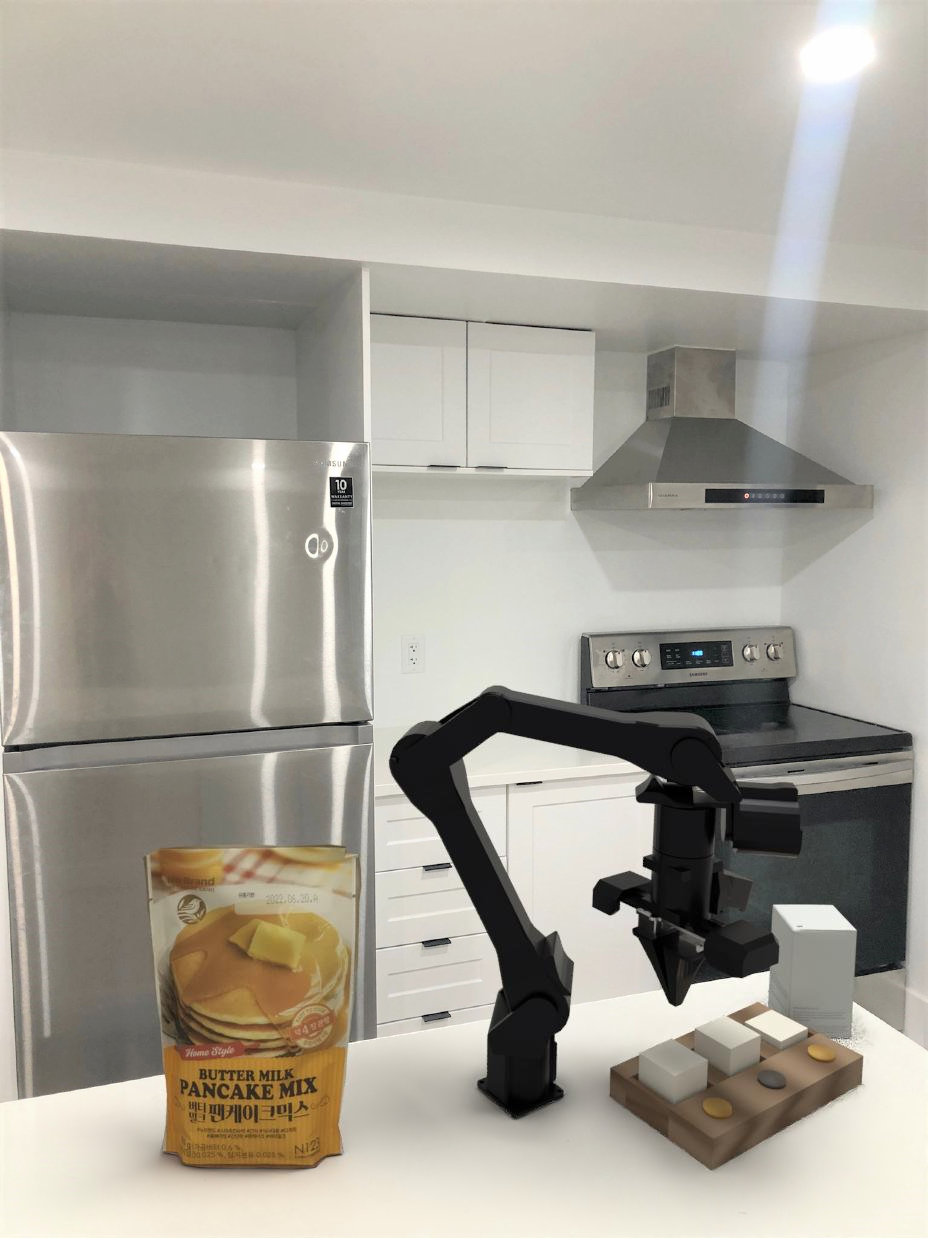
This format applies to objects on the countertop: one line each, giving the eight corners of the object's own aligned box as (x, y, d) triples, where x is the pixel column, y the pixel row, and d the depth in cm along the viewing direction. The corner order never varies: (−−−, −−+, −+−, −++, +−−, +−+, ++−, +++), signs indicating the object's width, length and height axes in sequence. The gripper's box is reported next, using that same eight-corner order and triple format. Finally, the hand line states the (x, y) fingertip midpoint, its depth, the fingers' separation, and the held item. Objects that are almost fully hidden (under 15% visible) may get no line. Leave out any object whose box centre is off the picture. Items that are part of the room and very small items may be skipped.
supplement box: (853, 1039, 104) (859, 931, 103) (786, 1038, 105) (791, 929, 103) (828, 1005, 112) (834, 903, 110) (766, 1004, 112) (771, 902, 111)
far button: (779, 1071, 98) (780, 1041, 97) (743, 1050, 101) (744, 1022, 101) (806, 1056, 100) (808, 1028, 100) (770, 1037, 104) (771, 1009, 104)
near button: (673, 1108, 88) (674, 1076, 88) (638, 1084, 92) (639, 1053, 92) (706, 1091, 91) (707, 1060, 90) (670, 1068, 95) (671, 1038, 94)
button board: (712, 1170, 83) (713, 1134, 83) (609, 1096, 94) (610, 1064, 93) (861, 1083, 96) (863, 1052, 96) (756, 1027, 107) (758, 998, 106)
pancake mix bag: (162, 1121, 89) (154, 836, 86) (363, 1124, 89) (362, 838, 86) (137, 1171, 82) (128, 862, 79) (354, 1173, 82) (354, 865, 79)
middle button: (729, 1080, 93) (730, 1049, 92) (693, 1058, 96) (694, 1028, 96) (759, 1064, 95) (760, 1035, 95) (723, 1044, 99) (724, 1015, 99)
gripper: (820, 862, 86) (810, 1022, 88) (666, 808, 101) (660, 946, 103) (743, 887, 80) (733, 1061, 81) (591, 826, 95) (585, 974, 96)
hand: (675, 1004), depth 91 cm, fingers closed
